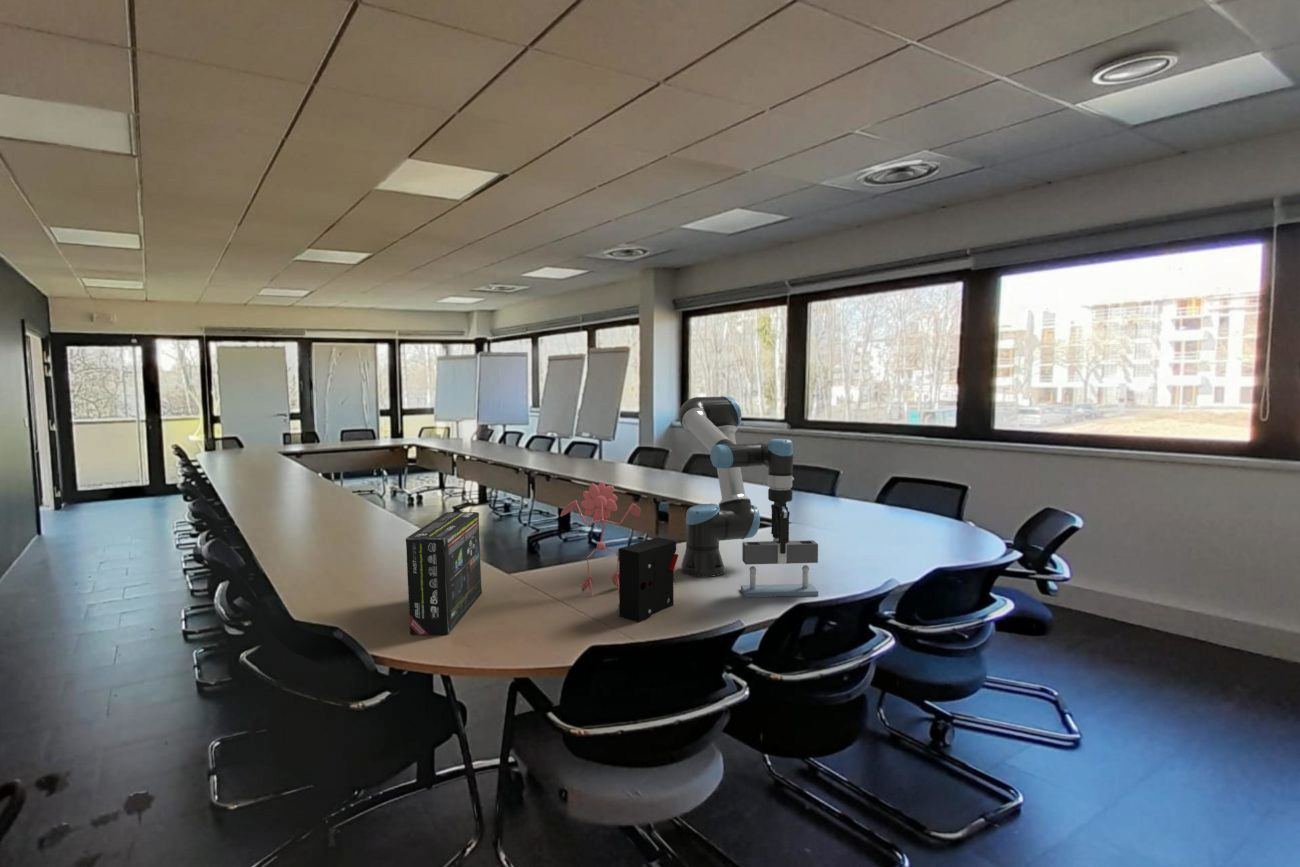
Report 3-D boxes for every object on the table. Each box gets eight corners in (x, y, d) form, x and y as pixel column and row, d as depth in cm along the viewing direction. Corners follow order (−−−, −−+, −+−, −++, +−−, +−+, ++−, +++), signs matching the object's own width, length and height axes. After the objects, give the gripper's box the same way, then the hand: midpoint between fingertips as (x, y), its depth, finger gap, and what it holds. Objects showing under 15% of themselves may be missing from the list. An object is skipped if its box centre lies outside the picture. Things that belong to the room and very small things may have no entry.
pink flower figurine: (645, 590, 217) (644, 482, 215) (567, 600, 208) (564, 487, 206) (630, 578, 231) (628, 477, 229) (556, 587, 222) (554, 481, 220)
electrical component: (652, 599, 208) (652, 536, 207) (678, 606, 202) (678, 541, 200) (613, 615, 195) (613, 547, 193) (640, 623, 188) (640, 553, 187)
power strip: (745, 564, 211) (745, 545, 210) (742, 560, 216) (742, 541, 215) (817, 562, 212) (818, 544, 212) (813, 558, 217) (813, 540, 216)
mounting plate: (745, 597, 210) (746, 570, 209) (740, 589, 218) (741, 563, 217) (818, 595, 211) (818, 568, 211) (810, 588, 219) (811, 561, 219)
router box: (448, 593, 215) (445, 511, 213) (482, 593, 215) (480, 511, 213) (406, 636, 179) (403, 537, 177) (448, 636, 179) (445, 537, 177)
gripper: (800, 492, 203) (799, 568, 205) (784, 483, 221) (784, 553, 223) (775, 492, 203) (774, 568, 205) (762, 484, 221) (761, 553, 223)
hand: (779, 560), depth 214 cm, fingers closed on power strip, 5 cm apart
